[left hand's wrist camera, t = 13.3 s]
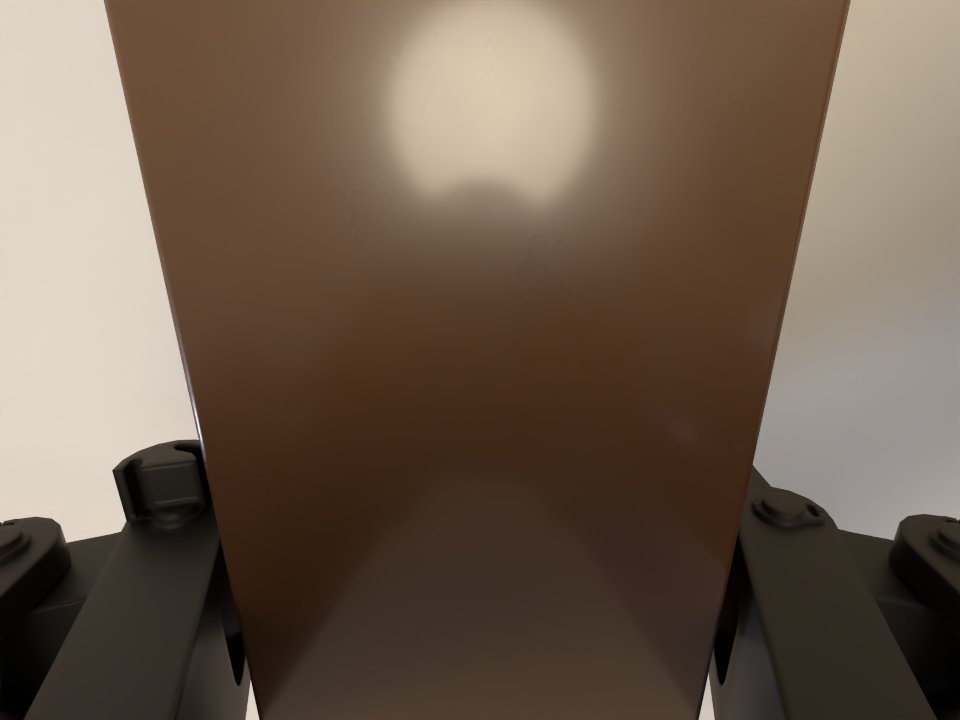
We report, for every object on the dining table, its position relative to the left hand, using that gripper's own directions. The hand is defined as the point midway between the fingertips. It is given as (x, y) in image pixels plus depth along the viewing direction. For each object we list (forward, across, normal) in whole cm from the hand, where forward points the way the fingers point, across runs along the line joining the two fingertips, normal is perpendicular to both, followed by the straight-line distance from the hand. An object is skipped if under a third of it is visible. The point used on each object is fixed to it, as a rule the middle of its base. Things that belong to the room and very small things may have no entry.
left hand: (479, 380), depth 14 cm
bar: (+1, 0, -13) cm, 13 cm away
